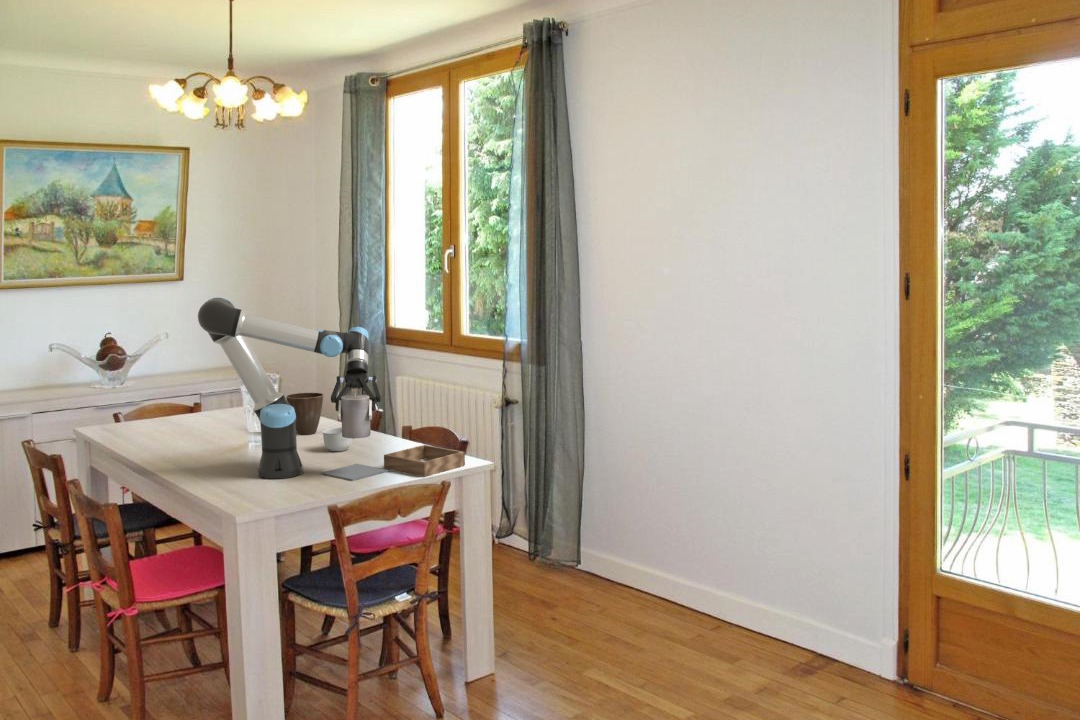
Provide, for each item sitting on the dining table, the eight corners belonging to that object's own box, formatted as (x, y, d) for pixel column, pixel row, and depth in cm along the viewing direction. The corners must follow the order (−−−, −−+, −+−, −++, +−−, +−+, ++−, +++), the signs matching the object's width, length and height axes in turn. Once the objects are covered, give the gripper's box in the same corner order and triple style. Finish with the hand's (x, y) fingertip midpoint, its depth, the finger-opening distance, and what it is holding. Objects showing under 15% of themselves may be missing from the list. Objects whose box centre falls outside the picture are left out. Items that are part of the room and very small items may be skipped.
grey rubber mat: (352, 480, 332) (352, 479, 332) (321, 474, 342) (321, 472, 342) (387, 471, 345) (387, 469, 345) (356, 465, 355) (356, 463, 355)
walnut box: (424, 477, 337) (424, 462, 336) (384, 468, 349) (383, 454, 348) (465, 465, 352) (464, 451, 351) (424, 458, 364) (424, 444, 364)
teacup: (345, 453, 374) (344, 432, 373) (318, 452, 376) (317, 432, 375) (359, 445, 387) (358, 425, 386) (333, 444, 390) (332, 424, 388)
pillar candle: (352, 432, 349) (350, 389, 347) (376, 434, 345) (374, 391, 343) (336, 437, 340) (334, 394, 338) (360, 439, 336) (359, 396, 334)
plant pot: (280, 434, 411) (278, 396, 409) (308, 428, 423) (306, 391, 421) (304, 438, 402) (303, 399, 400) (332, 432, 414) (330, 394, 412)
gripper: (389, 371, 356) (388, 423, 343) (326, 372, 354) (322, 424, 340) (388, 358, 350) (387, 411, 337) (324, 359, 348) (320, 412, 334)
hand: (355, 417), depth 338 cm, fingers closed on pillar candle, 10 cm apart
